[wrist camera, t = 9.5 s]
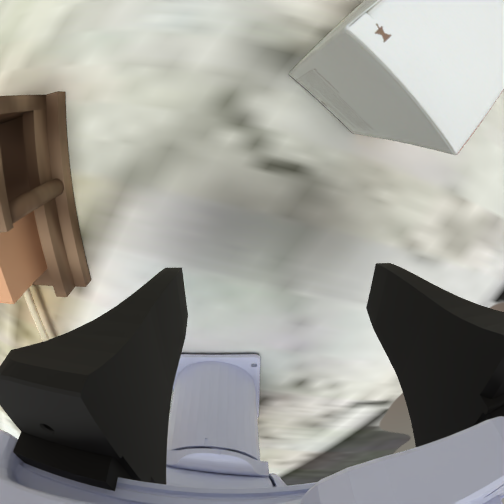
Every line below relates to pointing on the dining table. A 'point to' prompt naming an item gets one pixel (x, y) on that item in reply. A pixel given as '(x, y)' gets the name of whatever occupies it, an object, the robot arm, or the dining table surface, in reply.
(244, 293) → the dining table surface
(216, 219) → the dining table surface
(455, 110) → the small box
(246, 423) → the robot arm
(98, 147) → the dining table surface
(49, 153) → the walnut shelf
